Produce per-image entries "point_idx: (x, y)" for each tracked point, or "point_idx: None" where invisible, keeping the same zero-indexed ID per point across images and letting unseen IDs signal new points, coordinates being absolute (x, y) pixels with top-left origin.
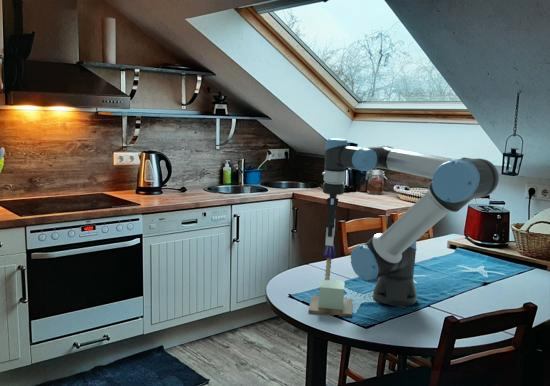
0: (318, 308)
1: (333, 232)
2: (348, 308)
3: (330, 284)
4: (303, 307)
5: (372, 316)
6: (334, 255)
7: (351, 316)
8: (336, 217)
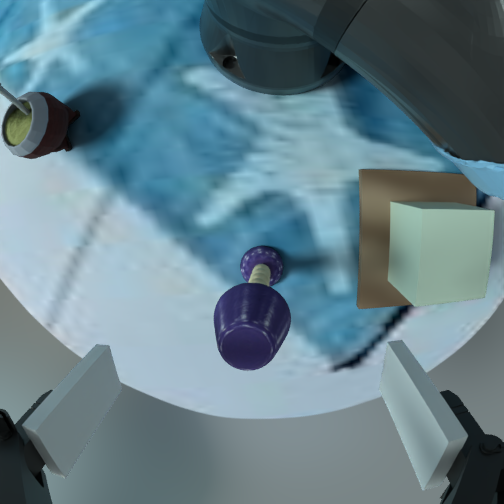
0: None
1: (446, 407)
2: (443, 184)
3: (460, 264)
4: (430, 314)
5: None
6: (272, 294)
7: None
8: (3, 423)
